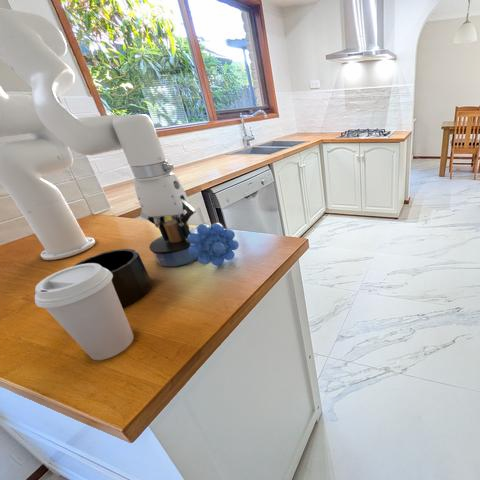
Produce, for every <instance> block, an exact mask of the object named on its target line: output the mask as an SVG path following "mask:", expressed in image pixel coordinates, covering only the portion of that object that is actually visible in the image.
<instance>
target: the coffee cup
mask: <svg viewBox="0 0 480 480" xmlns="http://www.w3.org/2000/svg"><path fill="white" fill-rule="evenodd" d="M75 265H76V264H75ZM112 278H113V274H112V273H111V272H110V271H109V270H107V269H106V268H103V267H102V266H101V265H99V264H96V263H87V264H80V265H76V266H74V265H72V266H69V267H65V268H63V269H61V270H59V271H56V272H54V273H52V274H50V275H48V276H46V277H44V278H43V279H42V280H41V281H39V282H38V283H37V284H36V286H35V288H34V291H35V294H34V303H35V305H36V306H37V307H38V308H44V309H45V310H46V311H47V313H49V315H51V316H52V317H53V319H54V320H55V321H56V322H57V323H58V324H59V325H60V326H61V327H62V328H63V329H64V330H65V331H66V333H67V334H68V335H69V336H70V337H71V338H72V339H73V340H74V342H76V344H78V346H80V348H81V349H82V350H83V351H84V352H85V353H86V354H87V356H88V357H90V358H91V360H94V361H104V360H107V359H110V358H113V357H115V356H117V355H119V354H120V353H122V352H124V351H125V350H126V349H127V348H128V347H130V346H131V344H132V343H133V342H134V339H135V335H134V333H133V329H132V328H131V325H130V323H129V320H128V317H127V315H126V313H125V310H124V308H122V306H121V303H120V301H119V298H118V296H117V293H116V291H115V288H114V286H113V283H112V281H111V280H112Z"/></svg>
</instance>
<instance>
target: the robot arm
mask: <svg viewBox="0 0 480 480" xmlns="http://www.w3.org/2000/svg"><path fill="white" fill-rule="evenodd" d="M67 51H68V46H67V42H66V38H65V37H64V35H63V33H62V31H60V29H59V28H58V27H57V26H56V24H54V23H53V22H51V21H50V20H49V19H48V18H45V16H42V15H40V14H36V13H32V12H26V11H22V10H15V9H10V8H4V7H0V60H1V61H2V62H3V63H4V64H6V65H7V66H8V67H9V68H10V69H11V70H12V71H13V72H14V73H16V75H18V76H19V77H20V78H21V79H22V80H23V81H24V82H25V83H26V84H27V85H28V86H29V87H30V88H31V94H27V93H6V92H5V91H4V90H3V88H2V86H1V85H0V138H2V137H3V138H4V137H12V136H19V135H28V134H29V136H31V138H29V139H20V140H19V139H18V140H13V141H6V142H0V185H2V188H4V189H5V191H6V192H7V194H8V195H9V196H10V198H11V199H12V201H13V202H14V203H15V205H16V207H17V208H18V210H19V211H20V212H21V214H22V216H23V217H24V219H25V220H26V223H28V225H29V227H30V228H31V230H32V231H33V233H34V234H35V236H36V238H37V239H38V241H39V242H40V244H41V246H42V247H43V248H44V250H42V251H41V253H40V257H41V259H42V260H44V261H56V260H62V259H66V258H69V257H73V256H76V255H78V254H81V253H83V252H86V251H87V250H89V249H91V248H92V247H94V246H95V244H96V240H95V238H94V237H90V236H86V235H85V233H84V231H83V229H82V228H81V226H80V224H79V221H77V219H76V217H75V215H74V213H73V212H72V209H71V207H70V206H69V204H68V201H66V199H65V197H64V196H63V194H62V192H61V190H60V189H59V188H58V187H56V185H54V184H53V183H51V182H49V181H48V180H46V179H44V178H43V177H44V176H47V175H50V174H51V175H52V174H55V173H58V172H62V171H65V170H68V169H70V168H71V167H72V165H73V164H74V157H73V153H72V151H73V152H75V153H78V154H80V155H83V156H96V155H101V154H105V153H110V152H115V151H120V150H122V151H123V153H124V155H125V158H126V161H127V163H128V165H129V167H130V170H131V172H132V175H133V177H134V178H133V187H134V190H135V194H136V198H137V200H138V203H139V206H140V209H141V211H140V215H139V216H140V217H141V218H142V219H144V220H146V221H149V222H150V223H151V224H153V225H154V226H155V227H156V228H158V229H159V232H160V235H161V236H163V238H164V240H165V241H168V240H169V238H168V235H167V233H166V230H165V228H164V225H163V224H164V223H165V222H166V220H165V216H174V218H175V220H176V221H177V223H178V225H179V226H178V227H177V228H178V231H179V233H180V236H181V238H182V240H186V239H187V238H188V236H189V234H190V230H189V228H188V225H187V222H188V223H189V219H190V218H191V217H192V216H193V215H194V214H195V213H197V210H196V209H195V208H194V207H193V206H192V205H191V204H190V201H189V200H190V199H189V197H188V196H187V193H186V191H185V189H184V187H183V185H182V183H181V181H180V179H179V178H178V176H177V174H176V173H175V172H172V171H174V169H175V168H174V164H172V163H169V162H168V161H167V158H166V155H165V152H164V150H163V147H162V144H161V142H160V139H159V136H158V133H157V131H156V128H155V125H154V123H153V120H152V118H151V117H150V116H149V115H147V114H142V113H137V114H125V115H122V114H121V115H120V114H107V115H95V116H86V117H76V116H75V115H73V113H72V112H70V111H69V110H68V109H67V108H66V107H65V106H64V105H63V104H62V103H61V101H59V99H58V98H60V97H61V96H63V95H64V94H65V93H67V92H68V91H69V90H70V89H72V87H73V86H74V84H75V80H76V76H75V72H74V71H73V70H72V68H71V67H70V66H69V65H68V64H67V63H65V62H64V60H63V59H61V58H63V57H64V56H66V54H67ZM71 150H72V151H71ZM183 210H184V212H185V213H184V212H183Z"/></svg>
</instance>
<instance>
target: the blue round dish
mask: <svg viewBox="0 0 480 480" xmlns="http://www.w3.org/2000/svg"><path fill="white" fill-rule="evenodd" d="M153 255H154V258H155V260H156V262H157V263H158V264H159V265H160V266H164V267H174V268H175V267H181V266H185V265H189V264H191V263H193V262H195V261H198V256H193V255H191V254H190V253H189V248H188V249H186V250H182V251H179V252H174V253H168V254H157V253H153Z"/></svg>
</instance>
